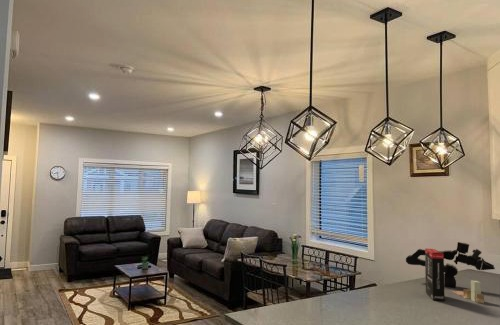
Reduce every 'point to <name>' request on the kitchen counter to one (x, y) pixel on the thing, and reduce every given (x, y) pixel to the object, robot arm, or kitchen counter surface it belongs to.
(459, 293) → the tile
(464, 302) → the kitchen counter surface
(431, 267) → the graphics card box
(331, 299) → the kitchen counter surface
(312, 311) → the kitchen counter surface
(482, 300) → the rack
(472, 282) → the pale green block
